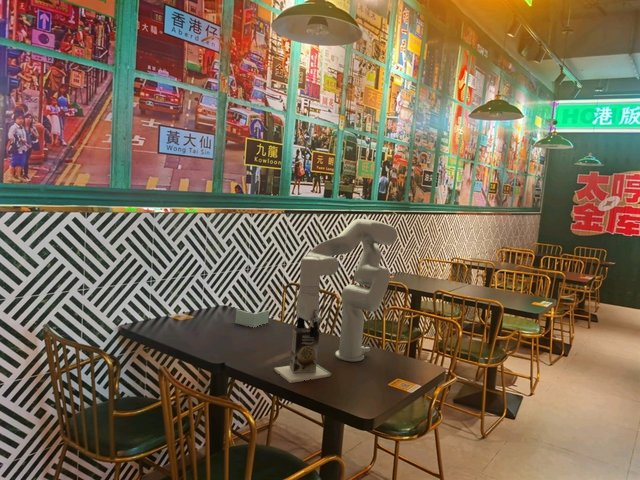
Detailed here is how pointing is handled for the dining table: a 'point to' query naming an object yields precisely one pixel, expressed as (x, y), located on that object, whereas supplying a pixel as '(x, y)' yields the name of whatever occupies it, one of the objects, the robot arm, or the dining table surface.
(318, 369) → the notepad
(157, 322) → the dining table surface
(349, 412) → the dining table surface
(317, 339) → the coffee box
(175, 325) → the dining table surface
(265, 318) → the l-shaped corner panel
